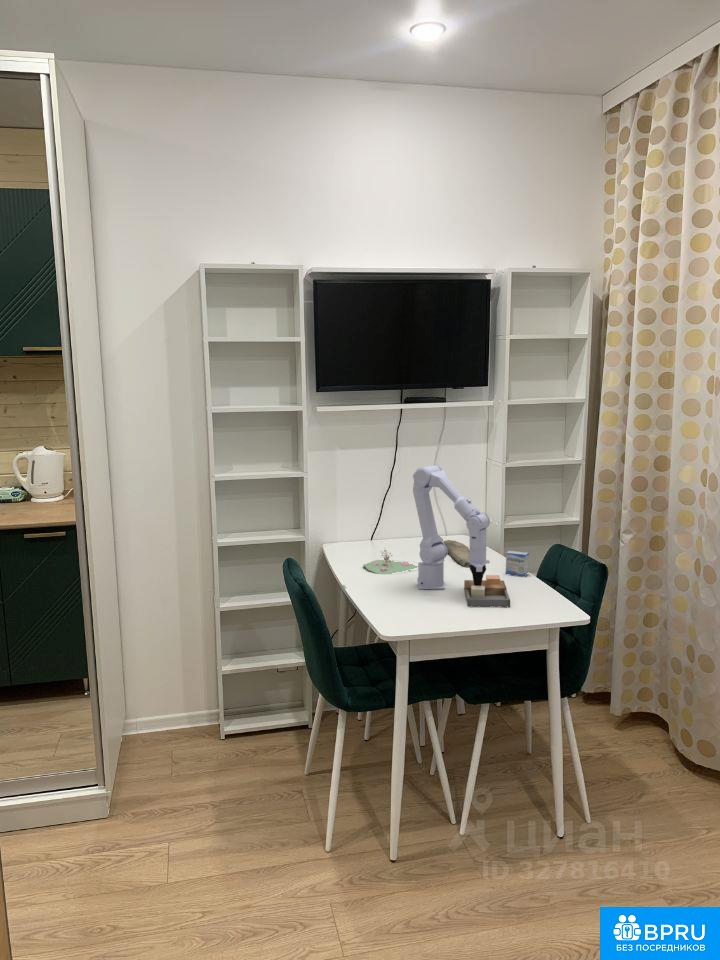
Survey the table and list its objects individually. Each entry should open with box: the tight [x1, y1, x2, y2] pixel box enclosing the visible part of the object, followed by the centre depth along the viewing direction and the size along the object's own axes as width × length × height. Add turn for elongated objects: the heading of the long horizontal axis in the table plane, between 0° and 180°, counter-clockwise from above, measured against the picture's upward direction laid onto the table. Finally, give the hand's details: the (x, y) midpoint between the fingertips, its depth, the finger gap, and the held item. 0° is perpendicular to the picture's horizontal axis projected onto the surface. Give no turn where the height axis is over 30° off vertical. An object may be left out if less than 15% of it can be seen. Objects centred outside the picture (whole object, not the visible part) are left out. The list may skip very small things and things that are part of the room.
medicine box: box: [505, 550, 530, 577], centre depth 284 cm, size 8×4×9 cm, turn 62°
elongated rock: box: [443, 539, 471, 569], centre depth 311 cm, size 35×5×10 cm
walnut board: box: [463, 579, 508, 596], centre depth 264 cm, size 14×9×3 cm, turn 85°
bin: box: [465, 589, 511, 608], centre depth 254 cm, size 14×11×2 cm
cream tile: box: [471, 586, 485, 599], centre depth 255 cm, size 4×4×2 cm
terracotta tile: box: [485, 574, 501, 584], centre depth 265 cm, size 4×4×2 cm
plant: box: [363, 548, 418, 575], centre depth 297 cm, size 25×21×9 cm
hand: (477, 586), depth 260 cm, fingers closed
